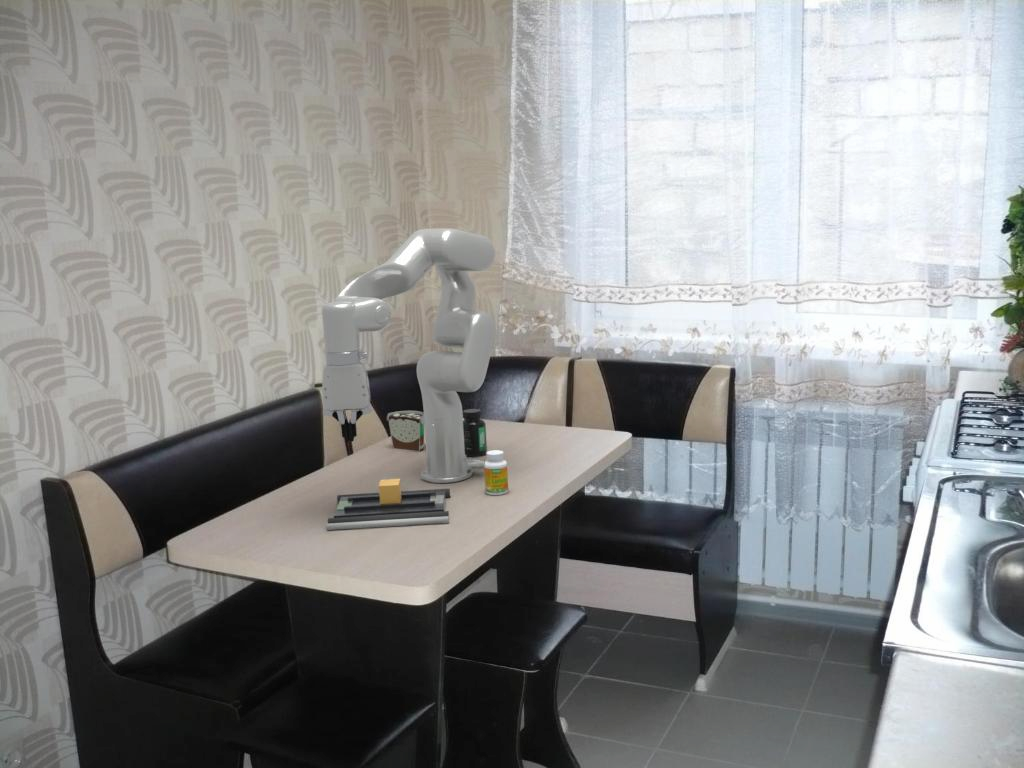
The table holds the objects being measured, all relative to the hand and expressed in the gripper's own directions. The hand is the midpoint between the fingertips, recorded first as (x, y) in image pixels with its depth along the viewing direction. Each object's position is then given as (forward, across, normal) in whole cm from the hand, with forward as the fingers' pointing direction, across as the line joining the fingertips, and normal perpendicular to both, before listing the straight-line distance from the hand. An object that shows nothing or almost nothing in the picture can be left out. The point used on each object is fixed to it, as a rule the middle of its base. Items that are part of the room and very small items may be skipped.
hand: (349, 440), depth 234 cm
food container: (+17, -10, -57) cm, 60 cm away
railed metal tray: (+17, -8, 0) cm, 19 cm away
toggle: (+15, -8, 0) cm, 17 cm away
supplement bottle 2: (+17, -32, -10) cm, 38 cm away
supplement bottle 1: (+17, -27, -46) cm, 56 cm away
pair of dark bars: (+17, -8, 0) cm, 19 cm away
